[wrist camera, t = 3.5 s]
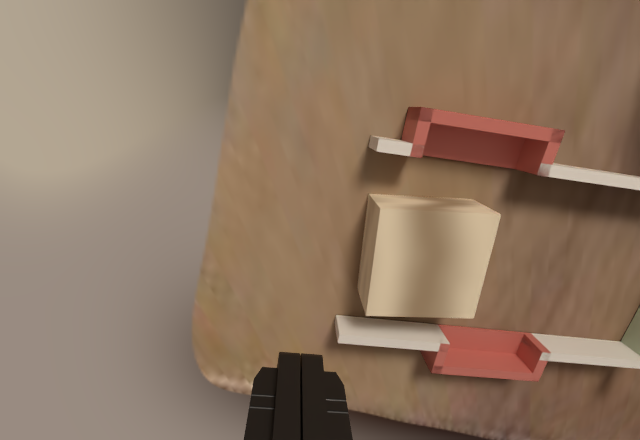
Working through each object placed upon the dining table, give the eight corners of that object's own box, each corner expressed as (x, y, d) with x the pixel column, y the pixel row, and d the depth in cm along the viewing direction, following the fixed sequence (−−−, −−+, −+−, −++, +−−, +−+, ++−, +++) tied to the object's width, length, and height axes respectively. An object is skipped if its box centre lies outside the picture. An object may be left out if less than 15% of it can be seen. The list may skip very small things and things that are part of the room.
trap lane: (733, 160, 24) (836, 172, 20) (617, 368, 31) (675, 415, 26) (377, 102, 22) (398, 100, 17) (330, 343, 28) (336, 391, 23)
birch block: (470, 198, 25) (501, 214, 21) (449, 289, 27) (473, 318, 23) (367, 192, 24) (380, 208, 20) (356, 286, 27) (365, 316, 23)
